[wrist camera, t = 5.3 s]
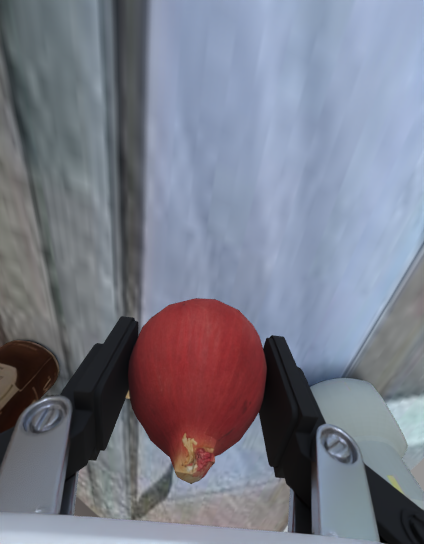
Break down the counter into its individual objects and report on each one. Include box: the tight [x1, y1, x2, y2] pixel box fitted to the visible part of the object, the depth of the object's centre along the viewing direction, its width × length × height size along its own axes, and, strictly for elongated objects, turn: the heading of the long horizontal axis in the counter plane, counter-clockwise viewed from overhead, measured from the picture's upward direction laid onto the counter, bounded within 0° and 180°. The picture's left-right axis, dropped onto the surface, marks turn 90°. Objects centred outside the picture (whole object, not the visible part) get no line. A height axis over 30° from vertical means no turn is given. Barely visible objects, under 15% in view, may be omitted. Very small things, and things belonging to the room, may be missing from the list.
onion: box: [128, 298, 267, 484], centre depth 10 cm, size 6×6×8 cm
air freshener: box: [310, 378, 424, 510], centre depth 21 cm, size 11×8×10 cm
